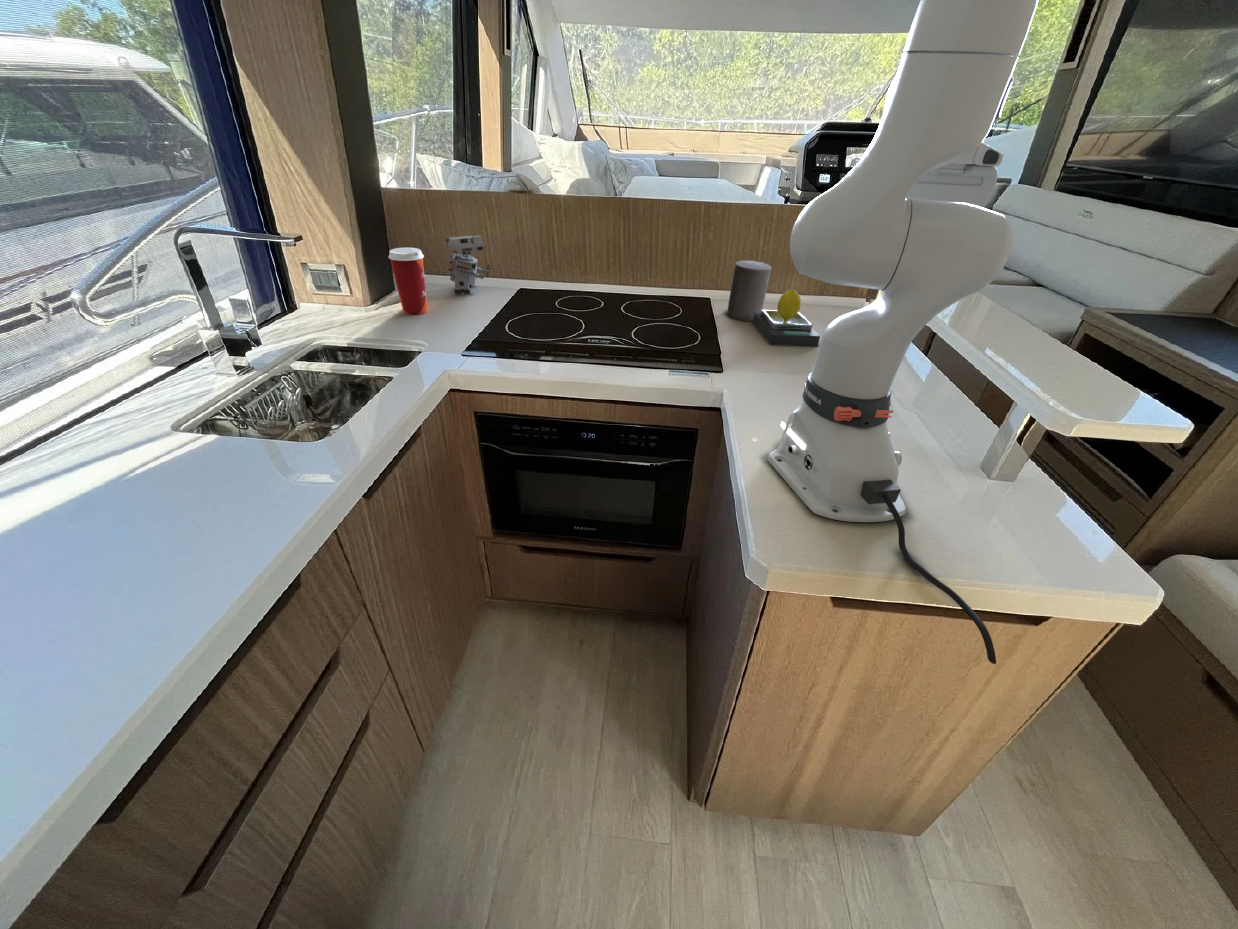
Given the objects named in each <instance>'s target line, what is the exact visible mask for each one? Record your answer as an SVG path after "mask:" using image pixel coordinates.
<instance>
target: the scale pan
mask: <svg viewBox="0 0 1238 929" xmlns="http://www.w3.org/2000/svg"><path fill="white" fill-rule="evenodd" d="M760 316H761V317H762V318H763V319H764V320H765V322H766V323H767V324H768V325H769V326H770V327H771V329H772V330H792V331H811V330H812V329H813V327H814V326H813V323H811V321H809V320H808V319H807V318H806V317H805V316H804V315H803V314H802V313H801V312H798V313H797V315H796V316H795V317H793V318H791V319H789V320H787V321H784V319H783V318H782V317H780V316H779V314H778V311H777V309H763V310H761V315H760Z"/></svg>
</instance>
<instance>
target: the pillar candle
mask: <svg viewBox="0 0 1238 929" xmlns="http://www.w3.org/2000/svg"><path fill="white" fill-rule="evenodd" d="M771 272H772V266H771V265H770V264H768V263H764V262H762V261H755V260H754V259H752V260H738V261H736V262H735V264H734V269H733V273H732V281H731V287H730V292H729V299H728V303H727V304H728V305H727V311H726V315H727V316H728V317H729V318H731V319H736V320H739V321H749V322H750V321H753V322H754V317H755V314H761V310H764V305H765V301H766V295H767V289H768V286H769V285H768V284H769V281H770V276H771Z"/></svg>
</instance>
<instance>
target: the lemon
mask: <svg viewBox="0 0 1238 929" xmlns="http://www.w3.org/2000/svg"><path fill="white" fill-rule="evenodd" d="M801 303H802V302H801V296H800V294H799V293H798V292H796V291H795V289H790V290H787V291H785V292H783V293H782V294H781V296H780V297H779V300H778V302H777V308H776V310H777V311H778V314H779V316H780V317H782V318H783V319H784V321H787V320H789V319H791V318H793V317H795V316H796V315H797V313H798V312H799V311H800V309H801V305H802V304H801ZM799 313H800V312H799Z"/></svg>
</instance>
